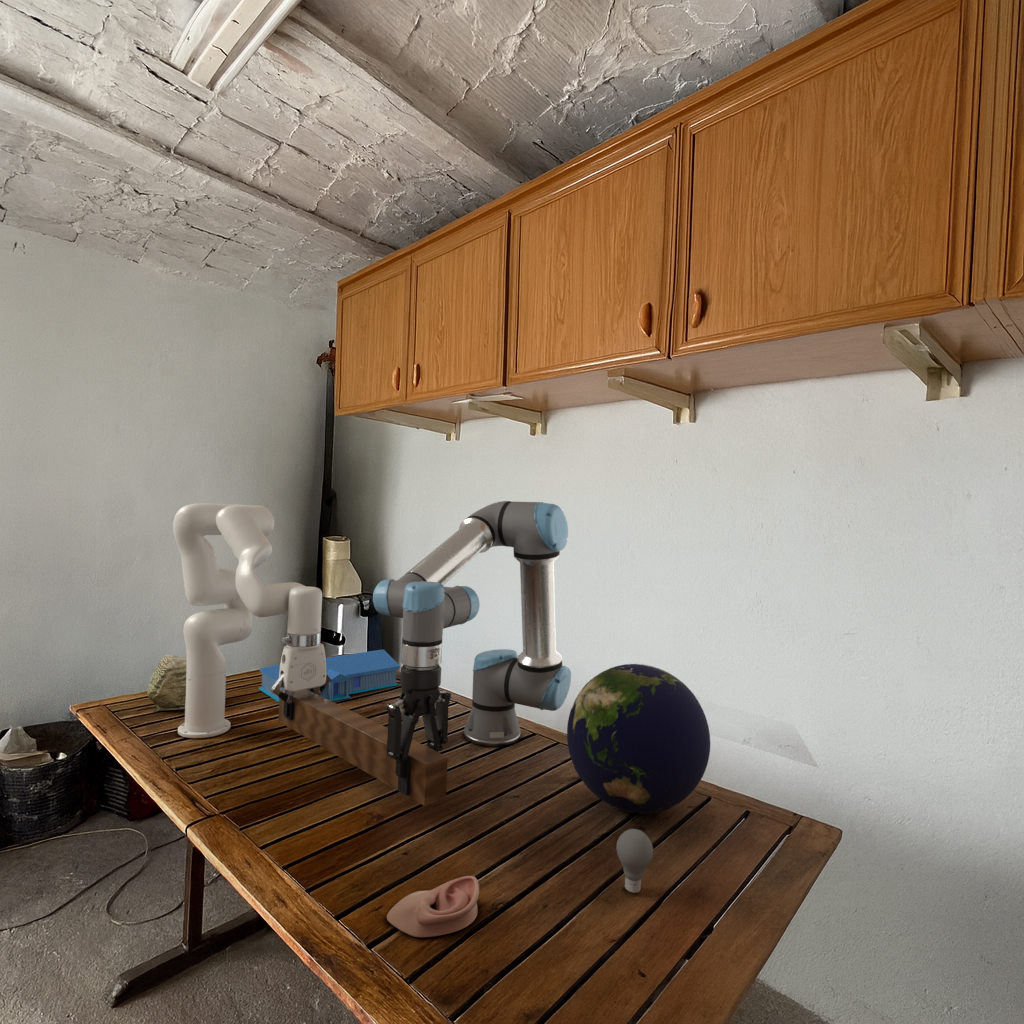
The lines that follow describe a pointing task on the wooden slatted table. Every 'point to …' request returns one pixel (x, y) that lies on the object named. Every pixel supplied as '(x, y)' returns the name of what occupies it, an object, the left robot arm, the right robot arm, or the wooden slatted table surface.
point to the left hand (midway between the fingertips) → (300, 715)
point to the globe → (638, 738)
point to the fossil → (169, 683)
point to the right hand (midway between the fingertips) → (416, 787)
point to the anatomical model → (437, 909)
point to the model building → (346, 674)
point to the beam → (366, 745)
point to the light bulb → (634, 857)
